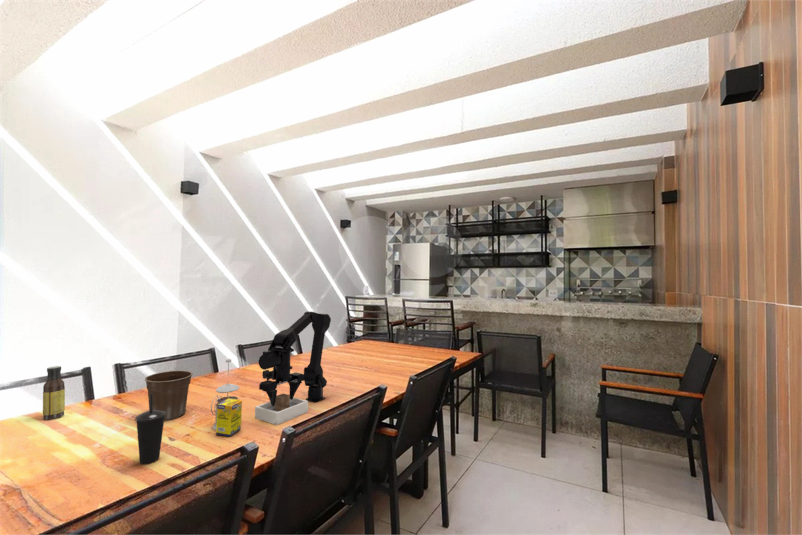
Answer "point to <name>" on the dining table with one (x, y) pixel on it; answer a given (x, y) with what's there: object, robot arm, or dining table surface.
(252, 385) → the dining table surface
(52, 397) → the sauce bottle
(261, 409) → the tray
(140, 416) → the drinking cup
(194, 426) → the dining table surface
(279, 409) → the peg
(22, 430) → the dining table surface
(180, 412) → the plant pot
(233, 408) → the supplement box
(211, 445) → the dining table surface
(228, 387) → the french press
